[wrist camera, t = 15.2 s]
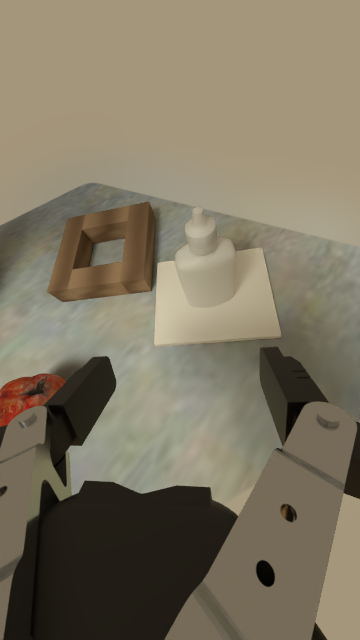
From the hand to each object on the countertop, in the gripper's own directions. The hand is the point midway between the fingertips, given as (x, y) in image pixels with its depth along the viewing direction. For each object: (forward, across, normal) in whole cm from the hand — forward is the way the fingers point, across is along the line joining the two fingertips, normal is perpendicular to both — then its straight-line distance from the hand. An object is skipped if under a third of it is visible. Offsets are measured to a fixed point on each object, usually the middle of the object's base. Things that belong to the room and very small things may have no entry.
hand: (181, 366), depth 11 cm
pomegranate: (+8, +17, +11) cm, 22 cm away
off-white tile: (+16, -2, +1) cm, 17 cm away
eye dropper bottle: (+16, -2, +1) cm, 16 cm away
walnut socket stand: (+23, +13, -5) cm, 27 cm away
